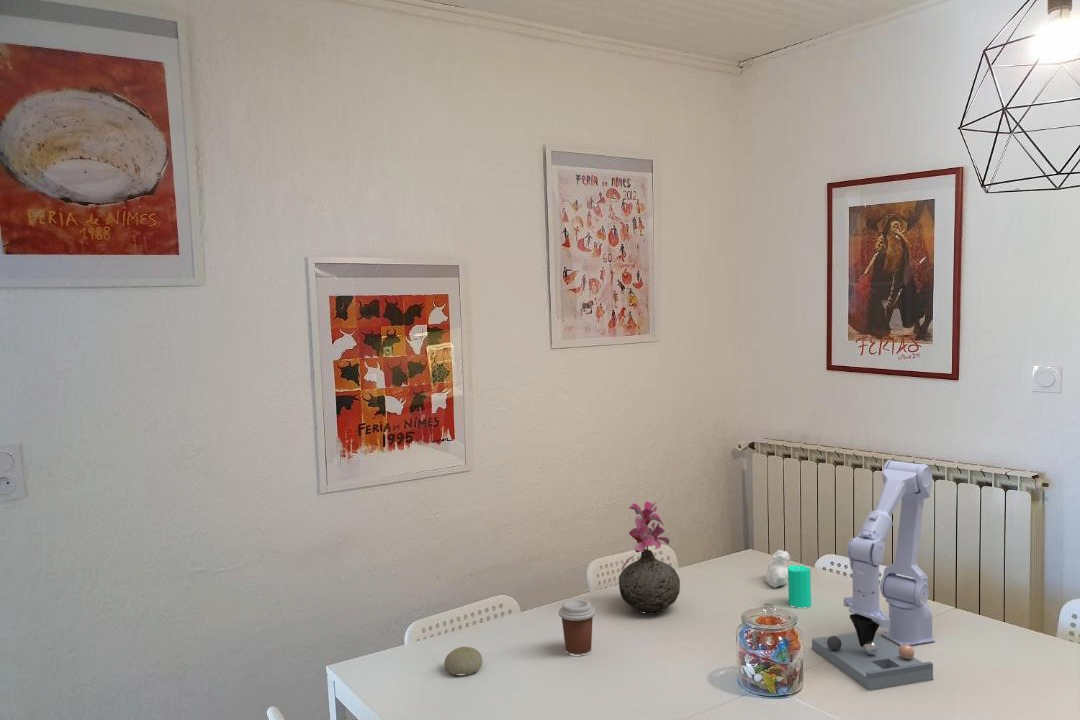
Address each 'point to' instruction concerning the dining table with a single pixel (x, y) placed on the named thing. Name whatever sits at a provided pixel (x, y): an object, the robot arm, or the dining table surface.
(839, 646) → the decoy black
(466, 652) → the sea urchin shell
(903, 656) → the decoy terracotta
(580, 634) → the coffee cup
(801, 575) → the candle
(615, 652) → the dining table surface
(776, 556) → the bust
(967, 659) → the dining table surface
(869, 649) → the steel ball
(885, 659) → the board
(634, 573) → the vase
